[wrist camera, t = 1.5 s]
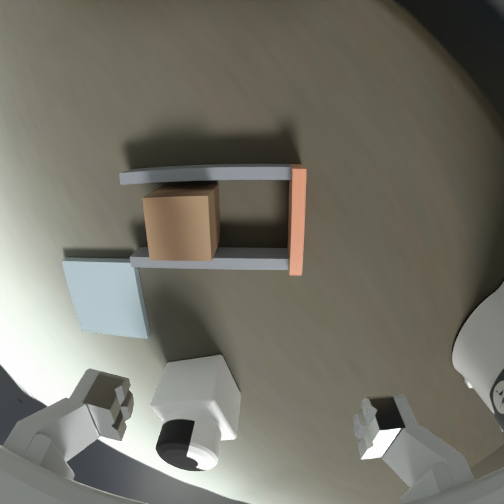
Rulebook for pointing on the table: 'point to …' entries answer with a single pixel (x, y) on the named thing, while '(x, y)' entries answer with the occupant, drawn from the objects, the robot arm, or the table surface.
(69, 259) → the tile
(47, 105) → the table surface
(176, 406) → the medicine bottle
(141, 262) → the channel
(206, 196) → the block
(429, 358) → the table surface
